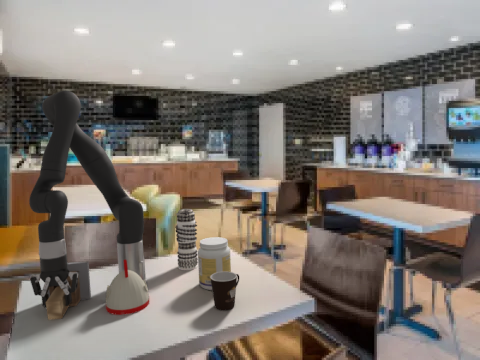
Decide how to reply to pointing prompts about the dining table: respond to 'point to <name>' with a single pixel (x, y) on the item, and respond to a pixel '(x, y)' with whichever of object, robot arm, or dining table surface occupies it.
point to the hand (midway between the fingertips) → (57, 305)
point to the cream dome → (126, 293)
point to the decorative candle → (186, 239)
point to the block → (75, 295)
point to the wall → (81, 278)
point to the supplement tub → (212, 259)
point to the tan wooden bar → (56, 304)
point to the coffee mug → (224, 289)
